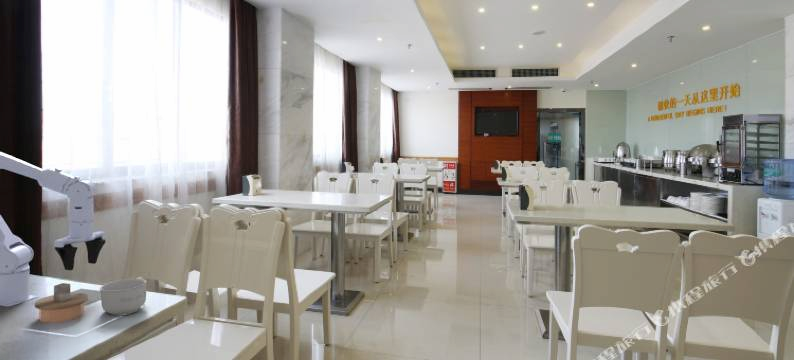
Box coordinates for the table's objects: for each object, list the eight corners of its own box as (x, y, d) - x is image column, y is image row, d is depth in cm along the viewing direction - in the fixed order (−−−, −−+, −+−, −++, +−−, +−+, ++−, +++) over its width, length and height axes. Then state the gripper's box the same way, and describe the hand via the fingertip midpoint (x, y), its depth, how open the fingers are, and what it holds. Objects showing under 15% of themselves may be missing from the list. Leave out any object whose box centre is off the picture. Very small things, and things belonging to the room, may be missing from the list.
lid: (22, 306, 106) (22, 289, 105) (63, 293, 116) (64, 276, 116) (60, 311, 104) (60, 293, 104) (98, 297, 115) (98, 280, 114)
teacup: (123, 321, 110) (124, 291, 109) (89, 316, 112) (89, 286, 111) (163, 303, 123) (163, 277, 123) (132, 299, 125) (132, 273, 125)
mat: (39, 303, 118) (39, 302, 118) (81, 289, 131) (81, 288, 131) (79, 309, 116) (79, 307, 116) (117, 294, 129) (117, 293, 129)
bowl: (30, 321, 107) (30, 305, 106) (63, 308, 115) (63, 294, 115) (60, 325, 105) (60, 309, 105) (91, 312, 114) (91, 298, 114)
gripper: (70, 226, 115) (69, 274, 116) (113, 218, 130) (113, 261, 130) (48, 223, 116) (48, 271, 117) (94, 216, 131) (93, 259, 131)
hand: (80, 266), depth 124 cm, fingers open, 7 cm apart
